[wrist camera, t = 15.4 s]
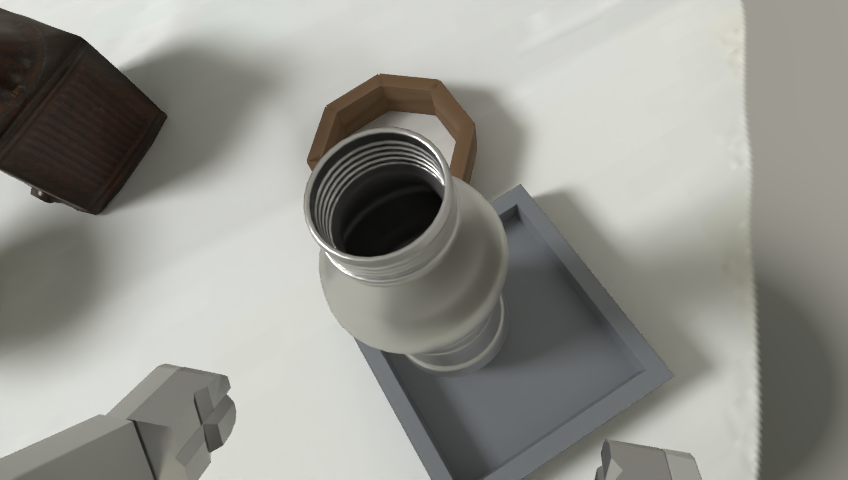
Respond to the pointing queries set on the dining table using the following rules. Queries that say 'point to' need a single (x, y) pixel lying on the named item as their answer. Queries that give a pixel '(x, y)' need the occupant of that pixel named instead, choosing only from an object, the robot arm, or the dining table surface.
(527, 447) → the charcoal tray
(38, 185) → the manual coffee grinder
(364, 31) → the dining table surface
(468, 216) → the plastic bottle
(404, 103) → the walnut collar
